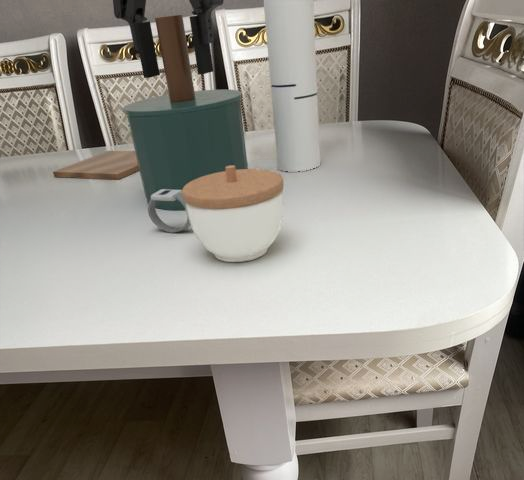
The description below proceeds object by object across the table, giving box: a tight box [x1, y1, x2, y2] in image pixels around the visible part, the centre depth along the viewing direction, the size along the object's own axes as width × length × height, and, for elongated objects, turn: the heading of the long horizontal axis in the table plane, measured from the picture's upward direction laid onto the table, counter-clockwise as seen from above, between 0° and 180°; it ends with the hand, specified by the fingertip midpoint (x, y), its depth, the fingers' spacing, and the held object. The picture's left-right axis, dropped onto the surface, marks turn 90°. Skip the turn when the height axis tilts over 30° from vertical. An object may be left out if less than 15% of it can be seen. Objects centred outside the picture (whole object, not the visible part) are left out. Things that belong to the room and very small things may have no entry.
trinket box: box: [182, 165, 285, 263], centre depth 57 cm, size 11×11×9 cm
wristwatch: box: [147, 189, 191, 234], centre depth 66 cm, size 6×3×5 cm, turn 66°
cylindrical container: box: [262, 0, 321, 173], centre depth 81 cm, size 7×7×25 cm
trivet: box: [52, 150, 140, 181], centre depth 102 cm, size 16×16×1 cm
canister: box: [126, 99, 249, 211], centre depth 77 cm, size 16×16×12 cm
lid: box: [122, 14, 243, 116], centre depth 72 cm, size 17×17×11 cm
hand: (178, 74), depth 72 cm, fingers open, 8 cm apart
